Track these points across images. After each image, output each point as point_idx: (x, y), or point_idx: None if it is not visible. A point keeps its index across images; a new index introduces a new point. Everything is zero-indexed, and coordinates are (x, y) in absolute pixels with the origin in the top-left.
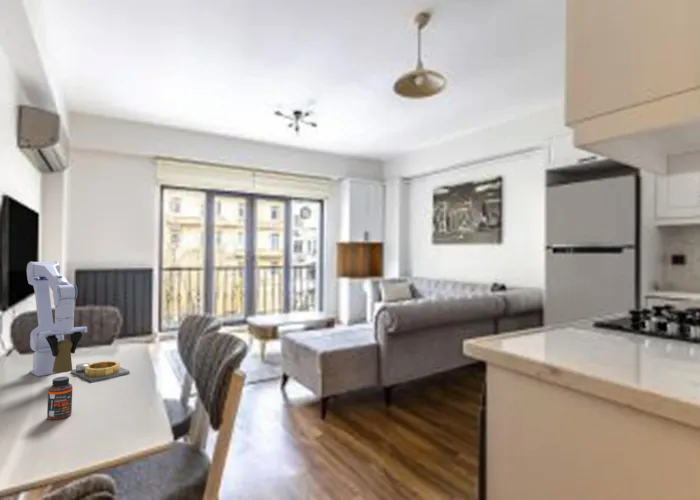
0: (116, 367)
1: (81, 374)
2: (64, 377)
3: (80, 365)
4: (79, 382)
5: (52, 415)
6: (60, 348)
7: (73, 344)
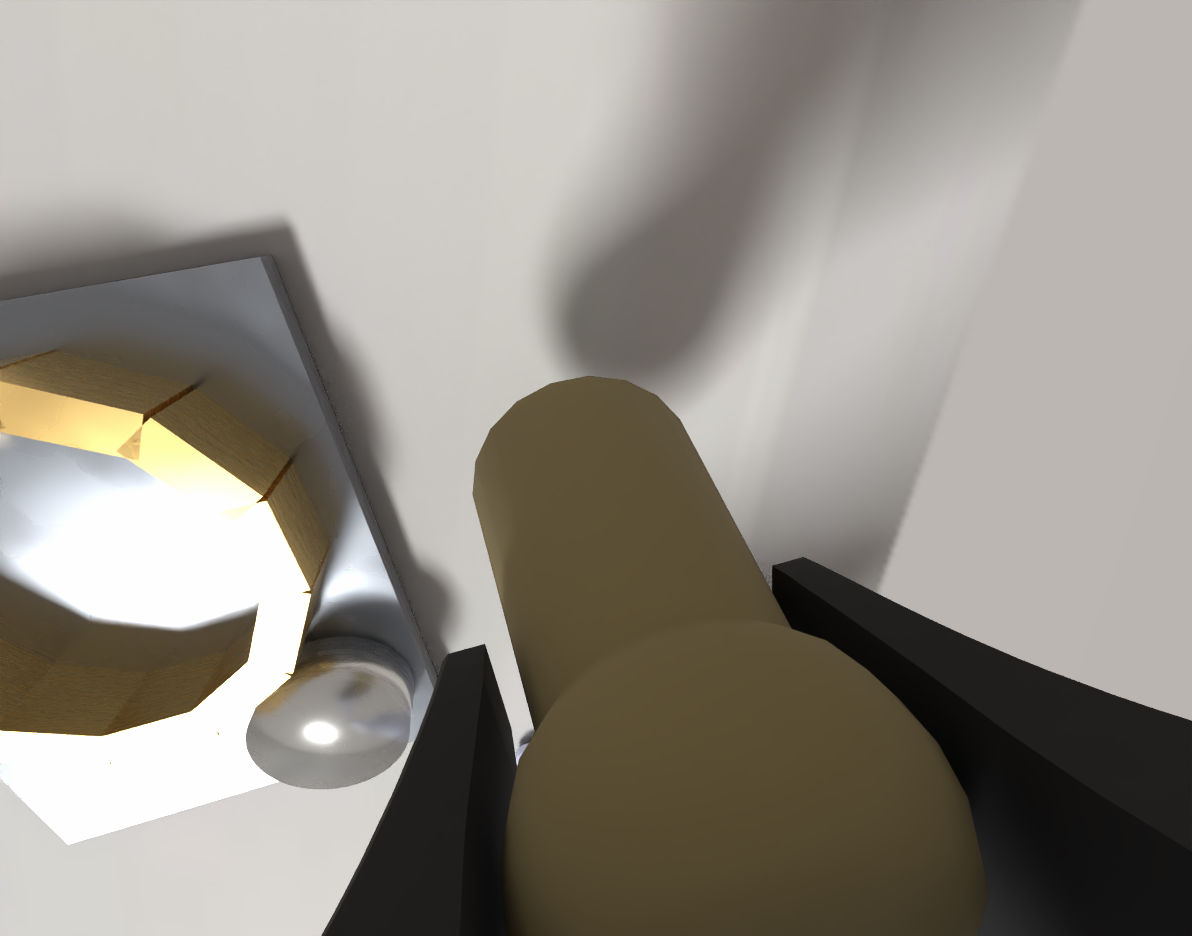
0: None
1: (366, 549)
2: None
3: (362, 729)
4: (400, 346)
5: None
6: (837, 649)
7: (477, 869)
